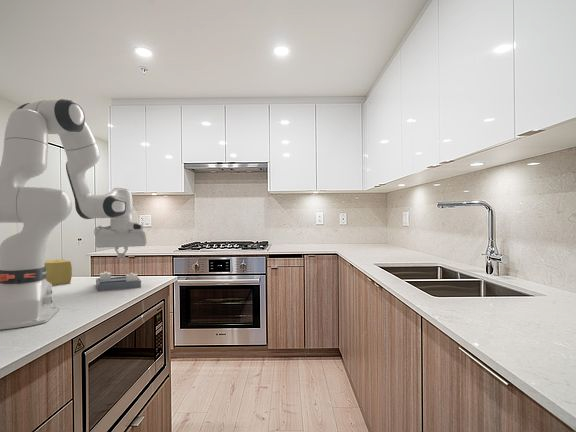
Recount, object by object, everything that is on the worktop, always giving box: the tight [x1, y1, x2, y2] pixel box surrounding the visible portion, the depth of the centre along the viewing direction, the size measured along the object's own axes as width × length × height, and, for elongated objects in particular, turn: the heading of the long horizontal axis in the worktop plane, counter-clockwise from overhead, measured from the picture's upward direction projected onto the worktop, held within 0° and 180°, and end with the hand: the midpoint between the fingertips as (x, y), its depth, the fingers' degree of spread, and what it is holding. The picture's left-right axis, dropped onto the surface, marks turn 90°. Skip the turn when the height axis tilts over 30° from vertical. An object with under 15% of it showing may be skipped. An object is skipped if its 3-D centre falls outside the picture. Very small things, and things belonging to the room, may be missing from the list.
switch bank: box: [95, 275, 142, 292], centre depth 149 cm, size 14×16×3 cm
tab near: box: [125, 272, 138, 282], centre depth 148 cm, size 3×4×4 cm
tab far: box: [99, 270, 112, 280], centre depth 150 cm, size 3×4×4 cm
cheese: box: [45, 258, 73, 286], centre depth 153 cm, size 10×11×10 cm
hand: (121, 257), depth 153 cm, fingers closed
